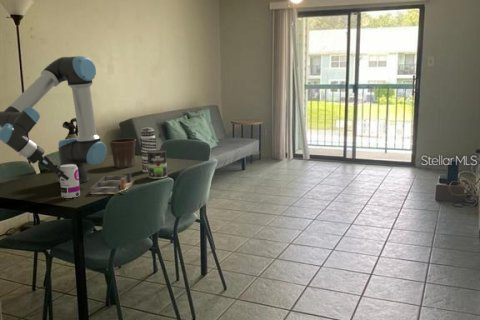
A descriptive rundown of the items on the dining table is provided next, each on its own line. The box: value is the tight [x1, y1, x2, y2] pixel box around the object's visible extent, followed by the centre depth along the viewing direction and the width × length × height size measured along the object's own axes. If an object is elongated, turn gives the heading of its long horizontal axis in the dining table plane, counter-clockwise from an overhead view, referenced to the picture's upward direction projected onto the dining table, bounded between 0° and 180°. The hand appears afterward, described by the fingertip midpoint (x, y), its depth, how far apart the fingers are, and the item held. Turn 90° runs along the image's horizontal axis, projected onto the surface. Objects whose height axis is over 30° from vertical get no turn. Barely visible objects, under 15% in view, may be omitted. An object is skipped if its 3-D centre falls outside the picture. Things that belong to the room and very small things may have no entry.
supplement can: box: [58, 164, 81, 199], centre depth 219 cm, size 8×8×15 cm
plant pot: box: [108, 137, 137, 169], centre depth 290 cm, size 16×16×16 cm
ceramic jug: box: [62, 117, 79, 140], centre depth 291 cm, size 17×15×30 cm
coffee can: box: [147, 149, 168, 180], centre depth 259 cm, size 10×10×14 cm
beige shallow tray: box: [89, 170, 136, 195], centre depth 236 cm, size 16×27×6 cm, turn 2°
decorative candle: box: [139, 126, 157, 173], centre depth 274 cm, size 9×9×25 cm
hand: (70, 180), depth 219 cm, fingers open, 13 cm apart
